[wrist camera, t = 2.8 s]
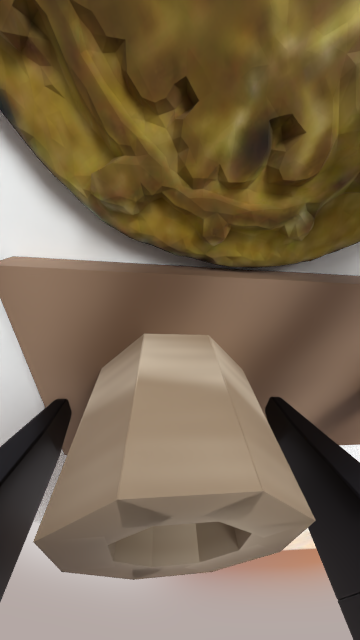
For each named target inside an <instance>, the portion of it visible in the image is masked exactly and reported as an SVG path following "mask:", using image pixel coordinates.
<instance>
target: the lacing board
mask: <svg viewBox="0 0 360 640" xmlns="http://www.w3.org/2000/svg"><path fill="white" fill-rule="evenodd" d="M0 298H1V301H2V303H3V306H4V308H5V311H6V313H7V315H8V318H9V320H10V323H11V325H12V328H13V330H14V332H15V335H16V337H17V340H18V342H19V345H20V347H21V350H22V352H23V354H24V357H25V359H26V362H27V364H28V367H29V369H30V372H31V374H32V376H33V379H34V381H35V384H36V386H37V389H38V391H39V394H40V396H41V398H42V401H43V403H44V406H45V408H46V407H47V406H48V405H49V404H51V403H52V402H53V401H54V400H56V399H68V401H69V404H70V408H71V411H72V415H71V419H70V422H69V426H68V429H67V432H66V436H65V439H64V442H63V446H62V450H63V452H64V455H68V452H69V450H70V447H71V445H72V442H73V440H74V437H75V435H76V432H77V430H78V427H79V424H80V422H81V419H82V417H83V414H84V412H85V409H86V407H87V404H88V402H89V399H90V397H91V394H92V391H93V389H94V386H95V384H96V381H97V379H98V376H99V374H100V371H101V369H102V368H103V367H104V366H105V365H106V364H108V363H109V362H110V361H111V360H113V359H114V358H115V357H116V356H117V355H119V354H120V353H121V352H122V351H124V350H125V349H126V348H127V347H128V346H130V345H131V344H132V343H133V342H135V341H136V340H137V339H138V338H140V337H141V336H142V335H143V334H144V333H145V334H180V335H209V336H210V337H211V338H212V339H213V340H214V341H215V342H216V343H217V344H218V345H219V346H220V347H221V348H222V349H223V350H224V351H225V352H226V353H227V354H228V355H229V356H230V357H231V358H232V359H233V360H234V361H235V362H236V363H237V364H238V365H239V367H240V368H241V369H242V370H243V372H244V374H245V376H246V378H247V380H248V382H249V384H250V386H251V388H252V390H253V392H254V394H255V396H256V399H257V401H258V403H259V405H260V407H261V409H262V411H263V413H264V415H265V417H266V414H265V407H266V405H267V402H268V400H269V398H270V397H281V398H282V399H283V400H285V401H286V402H287V403H288V404H289V405H291V406H292V407H293V408H294V409H295V410H297V411H298V412H299V413H300V414H302V415H303V416H304V417H305V418H306V419H308V420H309V421H310V422H311V423H312V424H314V425H315V426H316V427H317V428H318V429H320V430H321V431H322V432H323V433H324V434H326V435H327V436H328V437H329V438H331V439H332V440H333V441H334V442H335V443H337V444H338V445H357V444H360V276H349V275H331V274H314V273H296V272H279V271H261V270H243V269H226V268H208V267H190V266H173V265H155V264H137V263H120V262H102V261H84V260H67V259H49V258H31V257H14V256H13V257H10V258H7V259H4V260H0ZM266 419H267V417H266Z"/></svg>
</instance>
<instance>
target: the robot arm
mask: <svg viewBox="0 0 360 640" xmlns="http://www.w3.org/2000/svg"><path fill="white" fill-rule="evenodd" d="M265 414H266V417H267V421H268V423H269V425H270V427H271V429H272V431H273V434H274V436H275V438H276V440H277V442H278V444H279V446H280V448H281V450H282V452H283V454H284V456H285V458H286V460H287V462H288V464H289V466H290V468H291V471H292V473H293V475H294V477H295V479H296V481H297V483H298V485H299V487H300V489H301V491H302V493H303V495H304V497H305V499H306V501H307V503H308V506H309V508H310V510H311V512H312V514H313V516H314V518H315V520H316V521H315V522H313V523H312V524H311V525H310V526H309V527H308V529H309V531H310V534H311V536H312V539H313V541H314V543H315V546H316V548H317V551H318V553H319V556H320V558H321V561H322V563H323V565H324V568H325V570H326V573H327V575H328V578H329V580H330V582H331V585H332V588H333V590H334V592H335V595H336V598H337V599H338V603H339V605H340V607H341V610H342V613H343V615H344V618H345V620H346V622H347V625H348V628H349V630H350V632H351V635H352V637H353V640H360V463H359V462H358V461H357V460H356V459H355V458H353V457H352V456H351V455H350V454H349V453H347V452H346V451H345V450H344V449H343V448H341V447H340V446H339V445H338V444H337V443H335V442H334V441H333V440H332V439H331V438H329V437H328V436H327V435H326V434H324V433H323V432H322V431H321V430H320V429H318V428H317V427H316V426H315V425H314V424H312V423H311V422H310V421H309V420H308V419H306V418H305V417H304V416H303V415H302V414H300V413H299V412H298V411H297V410H295V409H294V408H293V407H292V406H291V405H289V404H288V403H287V402H286V401H285V400H283V399H282V398H281V397H270V398H269V400H268V402H267V405H266V407H265ZM71 415H72V411H71V408H70V404H69V401H68V399H56V400H54V401H53V402H52V403H51V404H49V405H48V406H47V407H46V408H45V409H44V410H43V411H41V412H40V413H39V414H38V415H37V416H36V417H34V418H33V419H32V420H31V421H30V422H29V423H27V424H26V425H25V426H24V427H23V428H22V429H20V430H19V431H18V432H17V433H16V434H15V435H14V436H12V437H11V438H10V439H9V440H8V441H7V442H5V443H4V444H3V445H2V446H1V447H0V601H1V599H2V596H3V594H4V592H5V589H6V587H7V584H8V582H9V579H10V577H11V574H12V572H13V569H14V567H15V564H16V562H17V560H18V557H19V555H20V552H21V550H22V547H23V544H24V542H25V540H26V537H27V535H28V533H29V530H30V528H31V525H32V523H33V520H34V518H35V515H36V513H37V510H38V508H39V505H40V503H41V501H42V498H43V496H44V493H45V491H46V488H47V486H48V483H49V481H50V478H51V476H52V473H53V471H54V469H55V466H56V464H57V461H58V458H59V456H60V452H61V449H62V446H63V442H64V439H65V436H66V432H67V429H68V426H69V422H70V419H71Z"/></svg>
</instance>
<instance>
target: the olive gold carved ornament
mask: <svg viewBox="0 0 360 640" xmlns="http://www.w3.org/2000/svg"><path fill="white" fill-rule="evenodd" d="M0 110H1V111H2V113H3V114H4V115H5V117H6V118H7V119H8V120H9V122H10V123H11V124H12V126H13V127H14V128H15V129H16V131H17V132H18V133H19V135H20V136H21V137H22V138H23V140H24V141H25V142H26V143H27V145H28V146H29V147H30V148H31V150H32V151H33V152H34V153H35V155H36V156H37V157H38V158H39V159H40V160H41V162H42V163H43V164H44V165H45V166H46V167H47V168H48V169H49V170H50V171H51V173H52V174H53V175H54V176H55V177H56V178H57V179H58V180H59V181H60V182H61V183H62V184H64V185H65V186H66V187H67V188H68V189H69V190H70V191H71V192H72V193H73V194H74V195H75V197H76V198H77V199H78V200H79V201H80V202H81V203H82V204H83V205H84V206H86V207H87V208H88V209H89V210H90V211H92V212H93V213H94V214H95V215H96V216H97V217H99V218H100V219H101V220H102V221H103V222H105V223H106V224H108V225H110V226H111V227H113V228H115V229H116V230H118V231H120V232H121V233H123V234H125V235H126V236H128V237H130V238H132V239H135V240H137V241H140V242H143V243H147V244H150V245H153V246H155V247H158V248H160V249H163V250H165V251H168V252H170V253H172V254H175V255H178V256H186V257H191V258H194V259H198V260H201V261H204V262H208V263H212V264H216V265H222V266H227V267H250V268H257V267H271V266H281V265H288V264H295V263H299V262H305V261H311V260H314V259H316V258H319V257H321V256H324V255H326V254H329V253H332V252H335V251H338V250H340V249H343V248H345V247H348V246H350V245H353V244H356V243H358V242H360V0H0Z"/></svg>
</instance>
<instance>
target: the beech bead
mask: <svg viewBox="0 0 360 640" xmlns="http://www.w3.org/2000/svg"><path fill="white" fill-rule="evenodd" d="M315 521H316V520H315V518H314V516H313V514H312V512H311V510H310V508H309V506H308V503H307V501H306V499H305V497H304V495H303V493H302V491H301V489H300V487H299V485H298V483H297V481H296V479H295V477H294V475H293V473H292V471H291V468H290V466H289V464H288V462H287V460H286V458H285V456H284V454H283V452H282V450H281V448H280V446H279V444H278V442H277V440H276V438H275V436H274V434H273V431H272V429H271V427H270V425H269V423H268V421H267V419H266V417H265V415H264V413H263V411H262V409H261V407H260V405H259V403H258V401H257V399H256V396H255V394H254V392H253V390H252V388H251V386H250V384H249V382H248V380H247V378H246V376H245V374H244V372H243V370H242V369H241V368H240V367H239V365H238V364H237V363H236V362H235V361H234V360H233V359H232V358H231V357H230V356H229V355H228V354H227V353H226V352H225V351H224V350H223V349H222V348H221V347H220V346H219V345H218V344H217V343H216V342H215V341H214V340H213V339H212V338H211V337H210V336H209V335H180V334H145V333H144V334H143V335H142V336H141V337H140V338H138V339H137V340H136V341H135V342H133V343H132V344H131V345H130V346H128V347H127V348H126V349H125V350H124V351H122V352H121V353H120V354H119V355H117V356H116V357H115V358H114V359H113V360H111V361H110V362H109V363H108V364H106V365H105V366H104V367H103V368H102V369H101V371H100V374H99V376H98V379H97V381H96V384H95V386H94V389H93V391H92V394H91V397H90V399H89V402H88V404H87V407H86V409H85V412H84V414H83V417H82V419H81V422H80V424H79V427H78V430H77V432H76V435H75V437H74V440H73V442H72V445H71V447H70V450H69V452H68V455H67V458H66V460H65V463H64V465H63V468H62V470H61V473H60V475H59V478H58V480H57V483H56V485H55V488H54V491H53V493H52V496H51V498H50V501H49V503H48V506H47V508H46V511H45V513H44V516H43V519H42V521H41V524H40V526H39V529H38V531H37V534H36V536H35V539H34V543H35V544H36V545H37V546H38V547H39V548H40V549H41V550H42V551H43V553H45V555H46V556H47V557H48V558H49V559H50V560H51V561H52V562H53V563H54V564H55V565H56V566H57V567H58V568H59V569H60V570H61V572H69V573H79V574H87V575H97V576H105V577H114V578H124V579H133V580H134V579H144V578H155V577H165V576H174V575H185V574H196V573H206V572H213V571H216V570H219V569H223V568H227V567H230V566H233V565H236V564H240V563H243V562H247V561H250V560H254V559H257V558H261V557H264V556H268V555H271V554H274V553H278V552H280V551H282V550H283V549H284V548H285V547H286V546H287V545H288V544H289V543H291V542H292V541H293V540H294V539H295V538H296V537H297V536H299V535H300V534H301V533H302V532H303V531H304V530H305V529H307V528H308V527H309V526H310V525H311V524H312V523H313V522H315Z"/></svg>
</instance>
